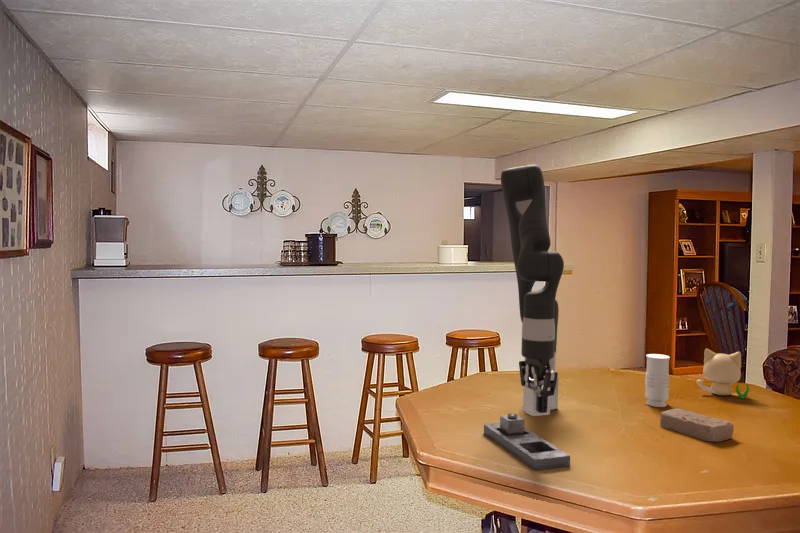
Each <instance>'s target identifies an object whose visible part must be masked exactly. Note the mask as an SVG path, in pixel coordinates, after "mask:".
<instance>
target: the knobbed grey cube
mask: <svg viewBox="0 0 800 533" xmlns="http://www.w3.org/2000/svg"><path fill="white" fill-rule="evenodd" d="M499 421H500V422H499V423H500V432H501V433H502V434H504V435H505V436H516V435H524V430H525V428H526V427H525V426H526V425H525V424H526V422H525V418H523V417H522V416H520V415H518V414H517V413H509V412H508V413H507V414H504V415H500V417H499Z"/></svg>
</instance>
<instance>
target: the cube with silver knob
mask: <svg viewBox="0 0 800 533" xmlns="http://www.w3.org/2000/svg"><path fill="white" fill-rule="evenodd" d="M522 387H523V390H522V391H523V394H522V396H523V397H522V400H523V401H522V411H523V412H524V413H527V414H528V415H530V416H532V417H538V416H549V415H550V414H551V411H550V396H548V404H547V412H546V413H539V412H538V411H537V405H538V393H537V387H536V386H535V385H534V383H532V385H524V386H522ZM542 389H543V386H541V390H542ZM549 390H550V389H549Z"/></svg>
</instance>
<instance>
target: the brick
mask: <svg viewBox="0 0 800 533" xmlns="http://www.w3.org/2000/svg"><path fill="white" fill-rule="evenodd" d="M659 418H660V419H659V426H660V427H663V428H666V429H668V430H673V431H674V432H677V431H678V433H681V434H683V435H686V434H687V435H688V436H691V437H692V436H693V438H696V439H698V438H699V440H702V441H707V442H713V443H717V442H722V441H727V440H729V439H732V438H733V435H734V423H733V422H730V421H728V420H725V419H721V418H717V417H709V416H707V415H704V414H700V413H697V412H696V411H695V412H694V411H690V410H686V409H683V408H672V409H666V410H665V411H661V412H660V417H659Z"/></svg>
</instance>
